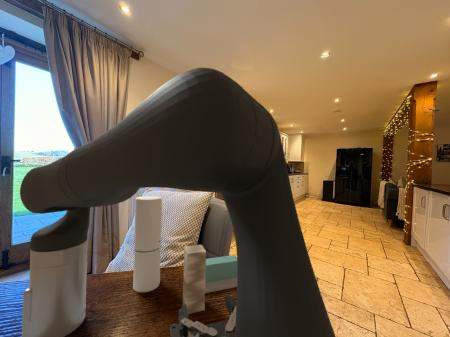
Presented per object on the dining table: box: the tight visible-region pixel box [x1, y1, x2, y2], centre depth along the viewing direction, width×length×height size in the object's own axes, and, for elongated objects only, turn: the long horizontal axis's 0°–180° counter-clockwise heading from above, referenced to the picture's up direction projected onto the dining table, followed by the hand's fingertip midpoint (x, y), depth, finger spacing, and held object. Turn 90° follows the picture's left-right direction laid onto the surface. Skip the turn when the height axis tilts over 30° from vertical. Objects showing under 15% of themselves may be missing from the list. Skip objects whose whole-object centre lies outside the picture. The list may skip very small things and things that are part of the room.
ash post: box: [182, 244, 207, 315], centre depth 48 cm, size 4×4×14 cm
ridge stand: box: [205, 254, 238, 294], centre depth 59 cm, size 15×10×6 cm, turn 110°
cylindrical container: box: [132, 195, 163, 293], centre depth 57 cm, size 7×7×25 cm
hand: (205, 304), depth 38 cm, fingers open, 8 cm apart
